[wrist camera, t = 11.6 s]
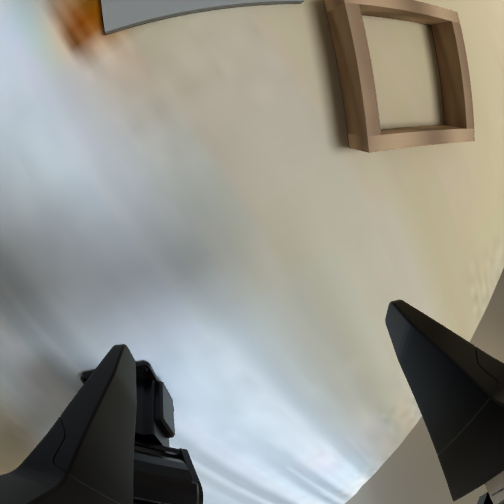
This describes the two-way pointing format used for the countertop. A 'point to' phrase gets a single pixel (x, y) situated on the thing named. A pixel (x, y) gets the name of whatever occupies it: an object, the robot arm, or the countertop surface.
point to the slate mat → (165, 10)
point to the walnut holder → (362, 81)
